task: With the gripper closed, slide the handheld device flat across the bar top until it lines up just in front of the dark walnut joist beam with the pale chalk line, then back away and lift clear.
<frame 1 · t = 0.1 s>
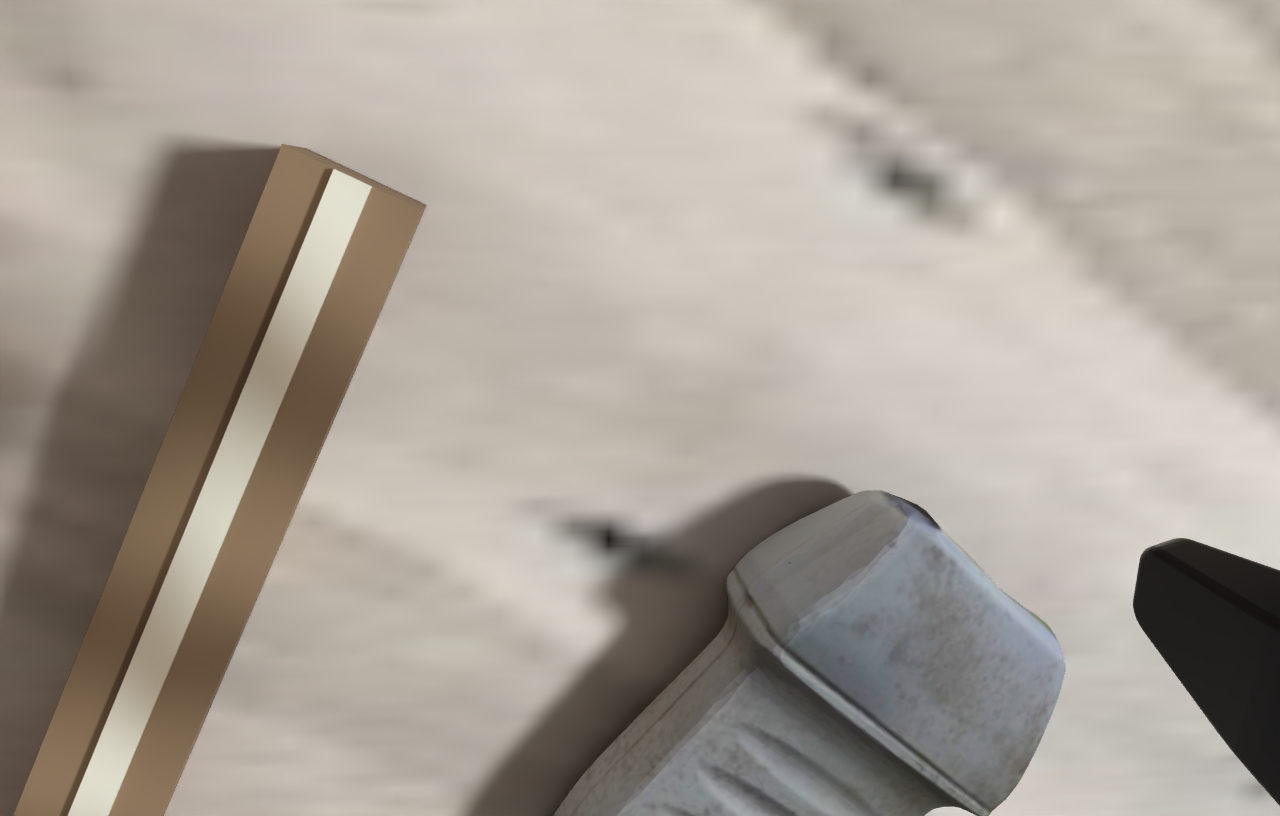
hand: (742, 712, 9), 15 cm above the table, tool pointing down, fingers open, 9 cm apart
joist beam: (189, 604, 23), on the table
handheld device: (722, 760, 28), on the table
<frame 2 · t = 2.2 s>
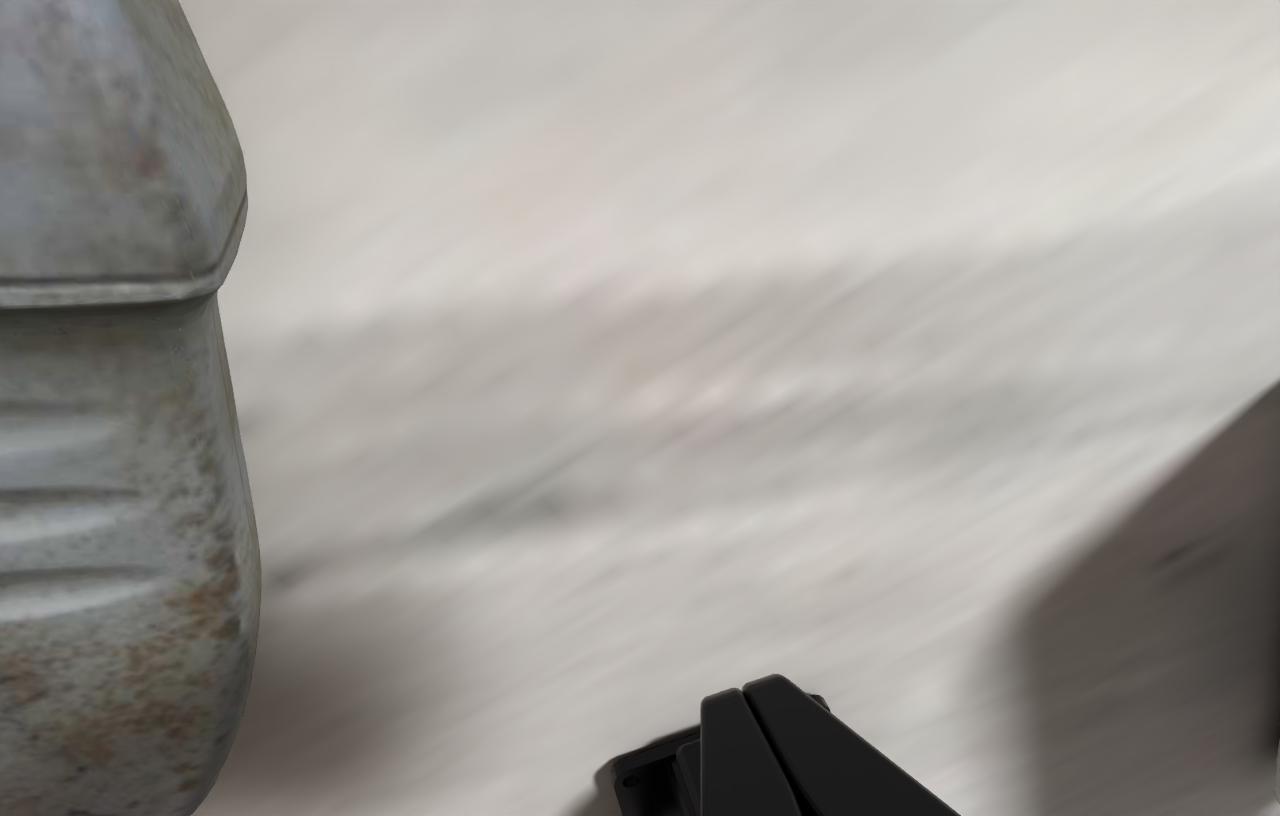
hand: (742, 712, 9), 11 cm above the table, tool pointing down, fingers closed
handheld device: (30, 440, 17), on the table
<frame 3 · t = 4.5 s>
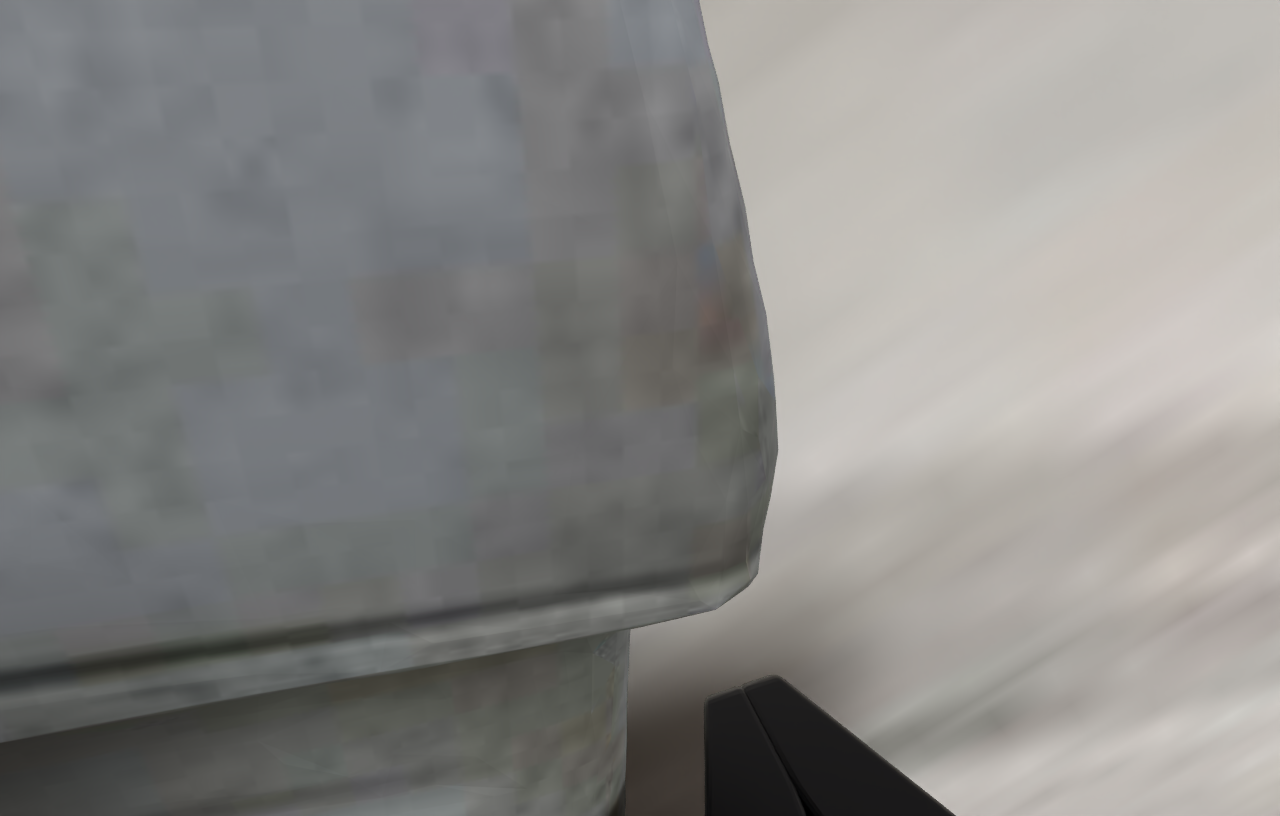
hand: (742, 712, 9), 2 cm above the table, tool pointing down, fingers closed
handheld device: (230, 702, 10), on the table, touching gripper
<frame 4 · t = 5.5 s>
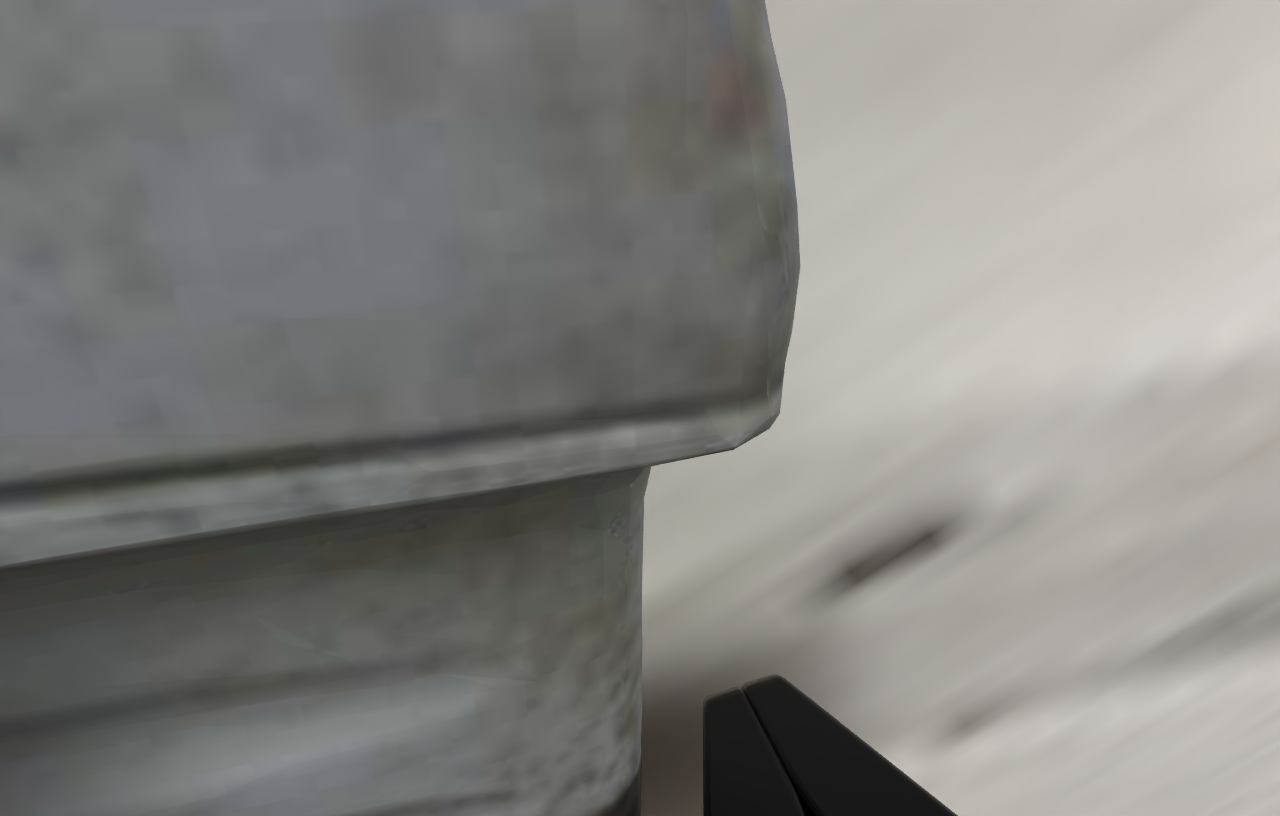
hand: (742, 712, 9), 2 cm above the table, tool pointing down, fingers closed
handheld device: (233, 632, 10), on the table, touching gripper
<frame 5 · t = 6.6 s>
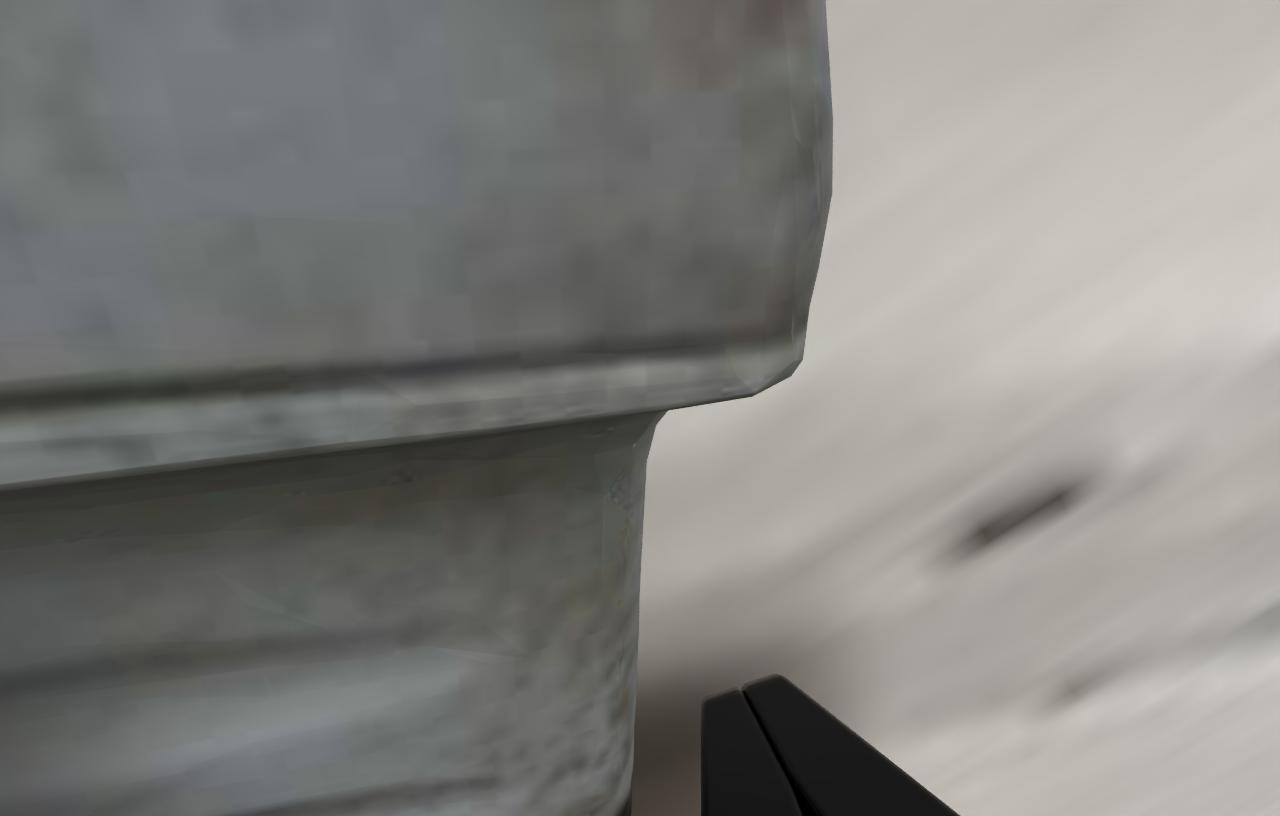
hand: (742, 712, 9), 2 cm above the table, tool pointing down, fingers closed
handheld device: (204, 609, 10), on the table
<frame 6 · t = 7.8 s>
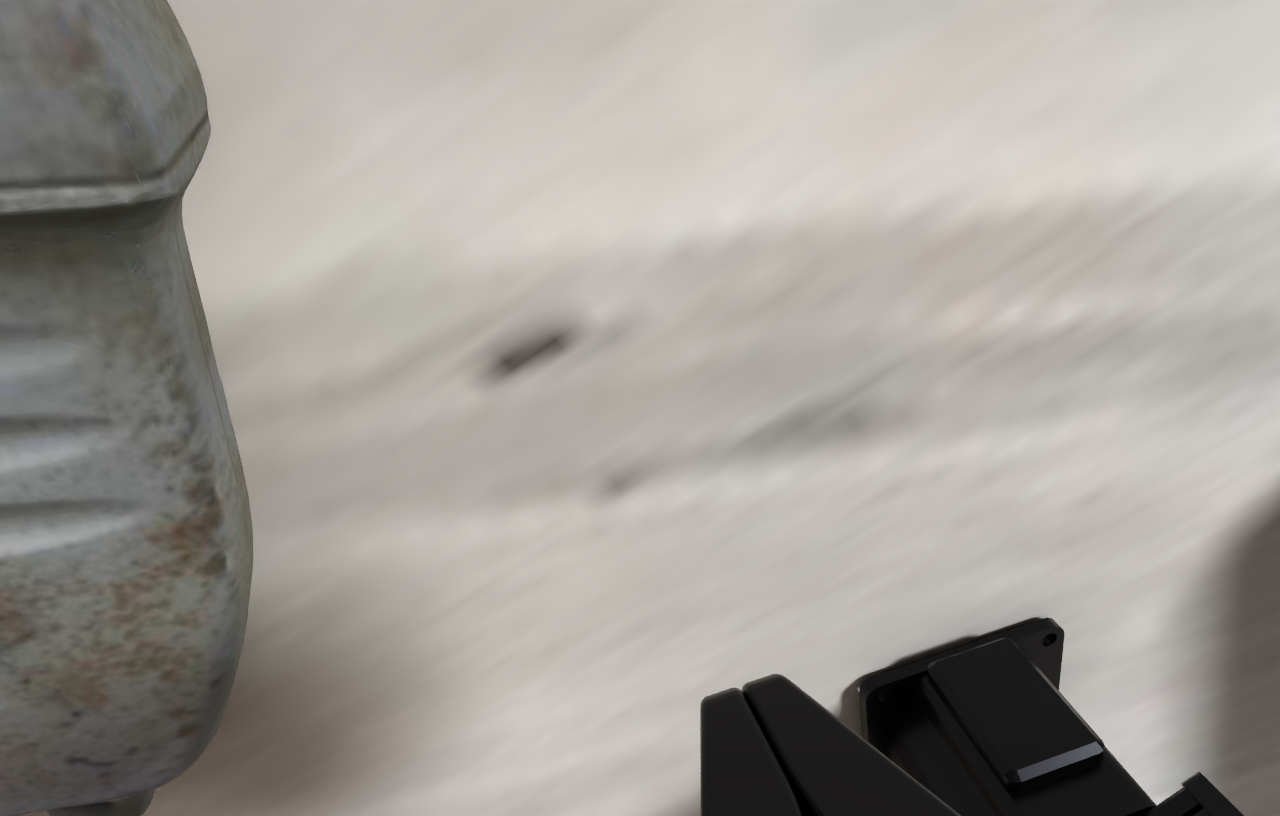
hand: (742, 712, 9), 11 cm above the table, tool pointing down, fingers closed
handheld device: (13, 388, 17), on the table
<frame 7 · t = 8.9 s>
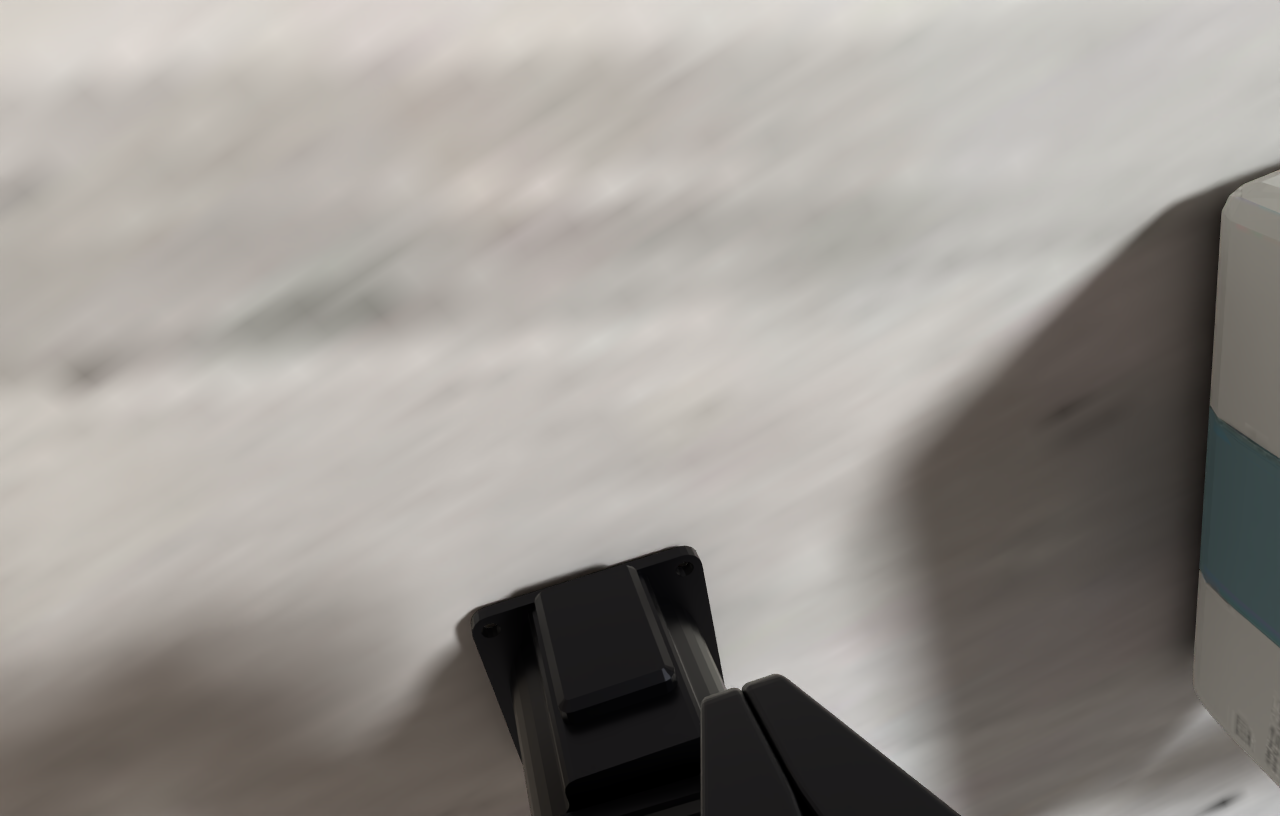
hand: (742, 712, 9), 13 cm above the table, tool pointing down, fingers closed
stereo radio cassette player: (1269, 429, 29), on the table
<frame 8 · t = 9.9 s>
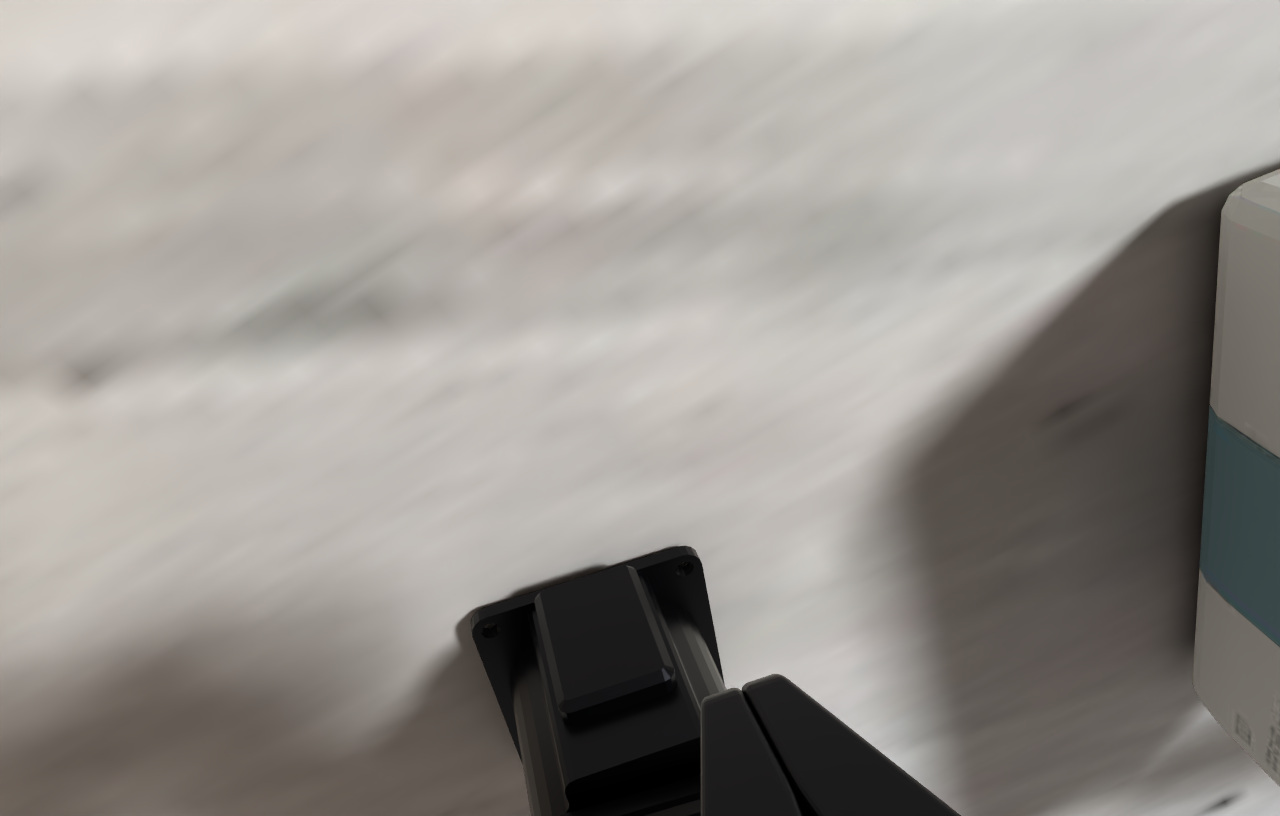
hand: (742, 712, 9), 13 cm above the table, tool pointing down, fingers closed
stereo radio cassette player: (1269, 429, 29), on the table
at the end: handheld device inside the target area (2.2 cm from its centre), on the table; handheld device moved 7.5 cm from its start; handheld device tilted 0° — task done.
